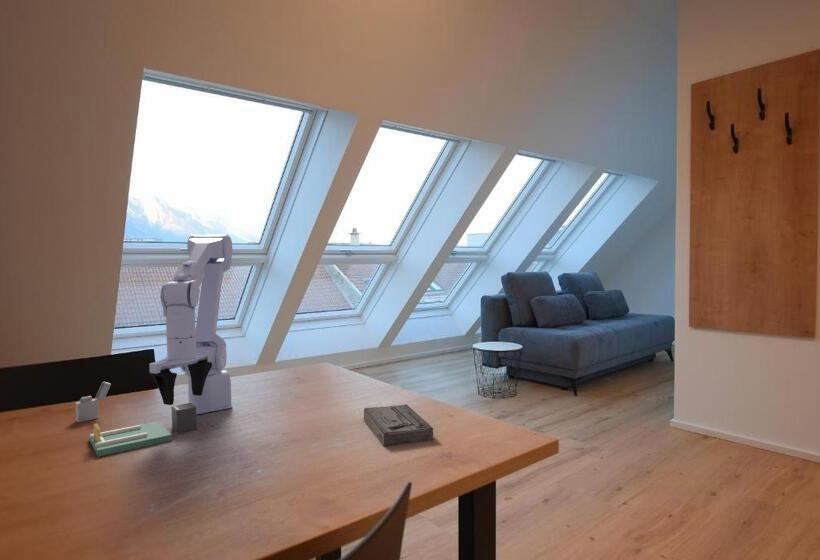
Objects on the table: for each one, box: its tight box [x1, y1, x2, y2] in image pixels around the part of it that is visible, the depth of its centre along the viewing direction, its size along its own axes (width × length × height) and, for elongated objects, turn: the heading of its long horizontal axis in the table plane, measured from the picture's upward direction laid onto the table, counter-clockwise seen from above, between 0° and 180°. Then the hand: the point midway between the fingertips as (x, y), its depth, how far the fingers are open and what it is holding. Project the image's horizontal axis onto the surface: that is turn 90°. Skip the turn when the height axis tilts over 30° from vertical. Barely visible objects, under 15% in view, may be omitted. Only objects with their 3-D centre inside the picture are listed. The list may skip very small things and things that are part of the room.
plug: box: [170, 402, 198, 435], centre depth 112 cm, size 4×4×5 cm
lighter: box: [75, 381, 112, 423], centre depth 120 cm, size 7×2×8 cm, turn 141°
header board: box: [88, 420, 173, 457], centre depth 105 cm, size 13×11×4 cm
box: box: [363, 404, 434, 447], centre depth 111 cm, size 11×17×3 cm, turn 19°
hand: (183, 399), depth 112 cm, fingers open, 7 cm apart
